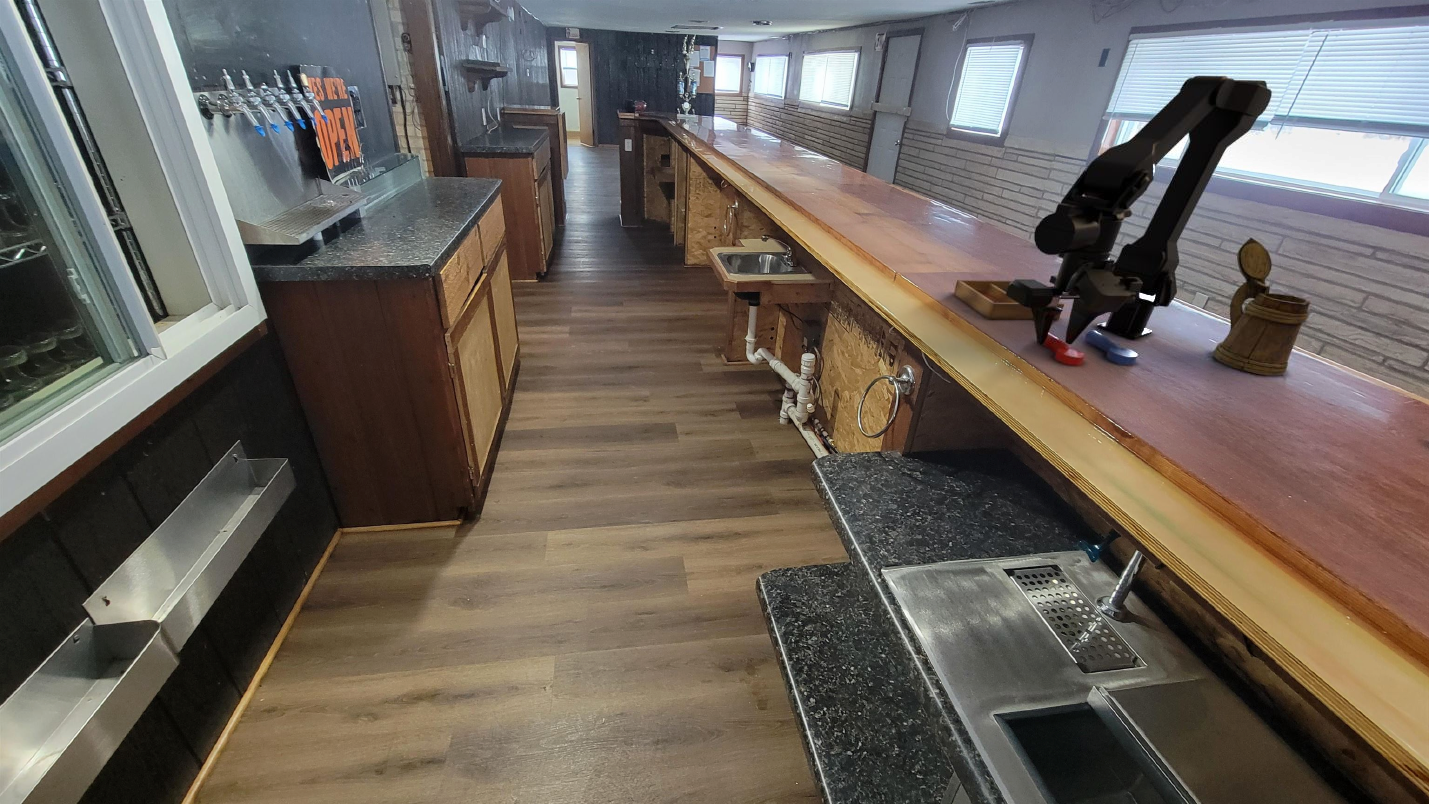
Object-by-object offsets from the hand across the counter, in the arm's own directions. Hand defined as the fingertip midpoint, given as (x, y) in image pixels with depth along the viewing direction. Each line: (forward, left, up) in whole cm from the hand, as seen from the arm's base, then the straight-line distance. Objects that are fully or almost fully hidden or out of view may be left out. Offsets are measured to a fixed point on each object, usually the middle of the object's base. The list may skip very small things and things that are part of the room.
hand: (1054, 343), depth 92 cm
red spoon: (0, +1, -1) cm, 1 cm away
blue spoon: (-8, +5, -1) cm, 9 cm away
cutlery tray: (-12, -17, -1) cm, 21 cm away
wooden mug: (-26, +16, -1) cm, 30 cm away
